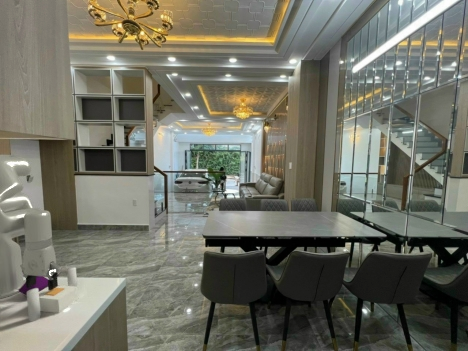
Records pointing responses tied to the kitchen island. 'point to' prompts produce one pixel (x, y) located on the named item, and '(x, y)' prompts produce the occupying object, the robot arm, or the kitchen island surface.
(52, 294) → the button
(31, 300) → the post
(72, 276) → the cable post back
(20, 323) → the kitchen island surface
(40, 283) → the perfume bottle
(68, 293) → the breaker box
